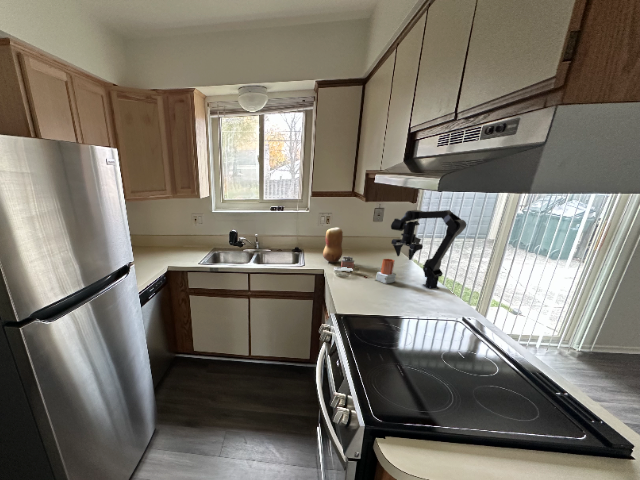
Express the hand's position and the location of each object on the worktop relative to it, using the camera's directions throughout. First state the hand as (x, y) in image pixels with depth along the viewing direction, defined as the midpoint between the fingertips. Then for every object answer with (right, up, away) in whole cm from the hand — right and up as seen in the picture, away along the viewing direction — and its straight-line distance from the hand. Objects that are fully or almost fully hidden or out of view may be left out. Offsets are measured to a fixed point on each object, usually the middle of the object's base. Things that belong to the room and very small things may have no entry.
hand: (403, 258), depth 193 cm
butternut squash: (-32, +2, +41) cm, 52 cm away
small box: (-11, -14, +1) cm, 18 cm away
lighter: (-28, -6, +20) cm, 35 cm away
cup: (-11, -9, -2) cm, 15 cm away
